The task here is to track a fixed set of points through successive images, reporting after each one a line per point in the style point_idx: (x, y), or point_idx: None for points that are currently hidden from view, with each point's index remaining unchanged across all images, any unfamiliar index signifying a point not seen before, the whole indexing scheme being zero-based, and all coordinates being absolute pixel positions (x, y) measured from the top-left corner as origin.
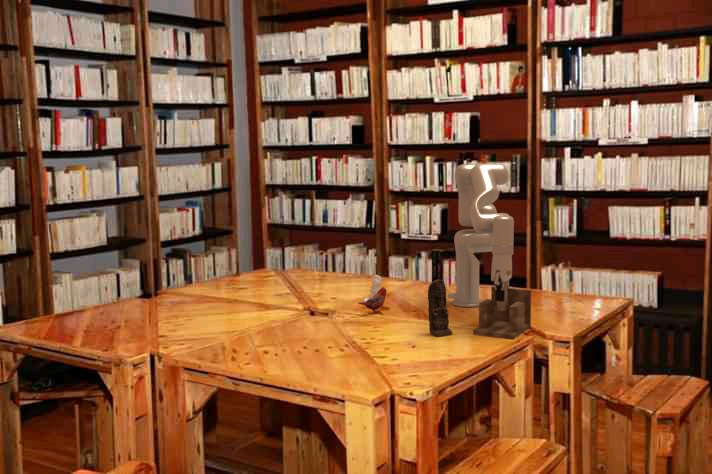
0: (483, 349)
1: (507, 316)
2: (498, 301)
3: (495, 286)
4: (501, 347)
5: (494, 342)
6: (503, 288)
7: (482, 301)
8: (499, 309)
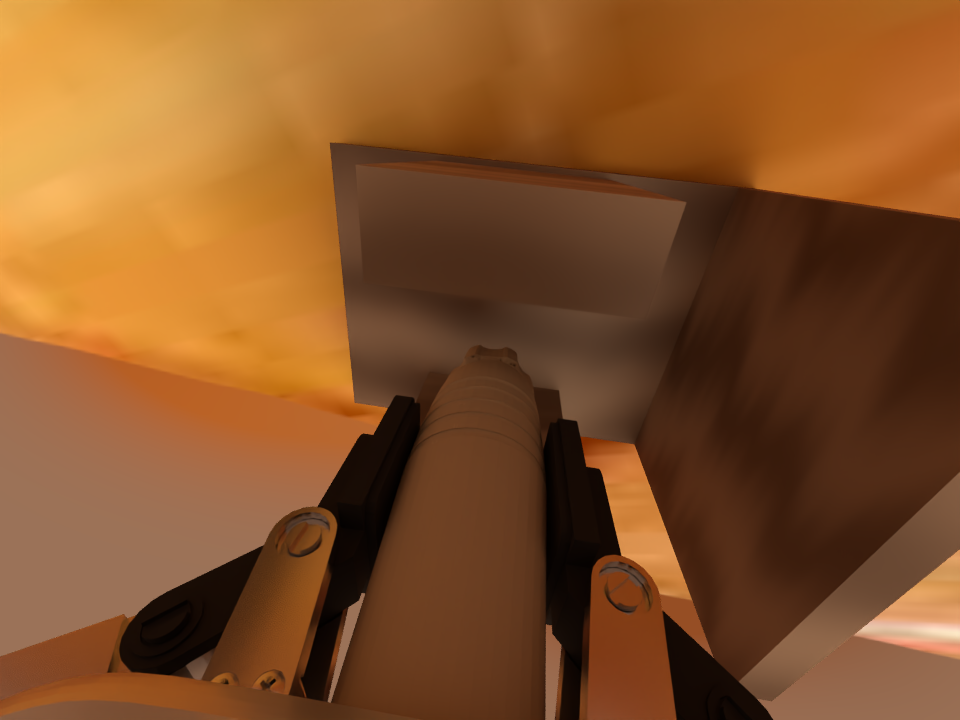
0: (110, 294)
1: (698, 337)
2: (429, 409)
3: (249, 573)
4: (203, 363)
5: (256, 318)
6: (337, 620)
7: (483, 182)
8: (454, 370)
